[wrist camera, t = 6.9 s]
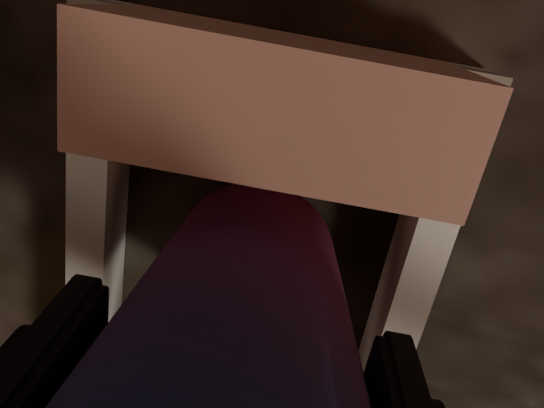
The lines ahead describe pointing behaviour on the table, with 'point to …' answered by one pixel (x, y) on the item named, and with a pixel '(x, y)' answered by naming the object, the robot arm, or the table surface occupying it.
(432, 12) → the table surface
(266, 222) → the cup
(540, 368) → the table surface
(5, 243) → the table surface
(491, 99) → the track
